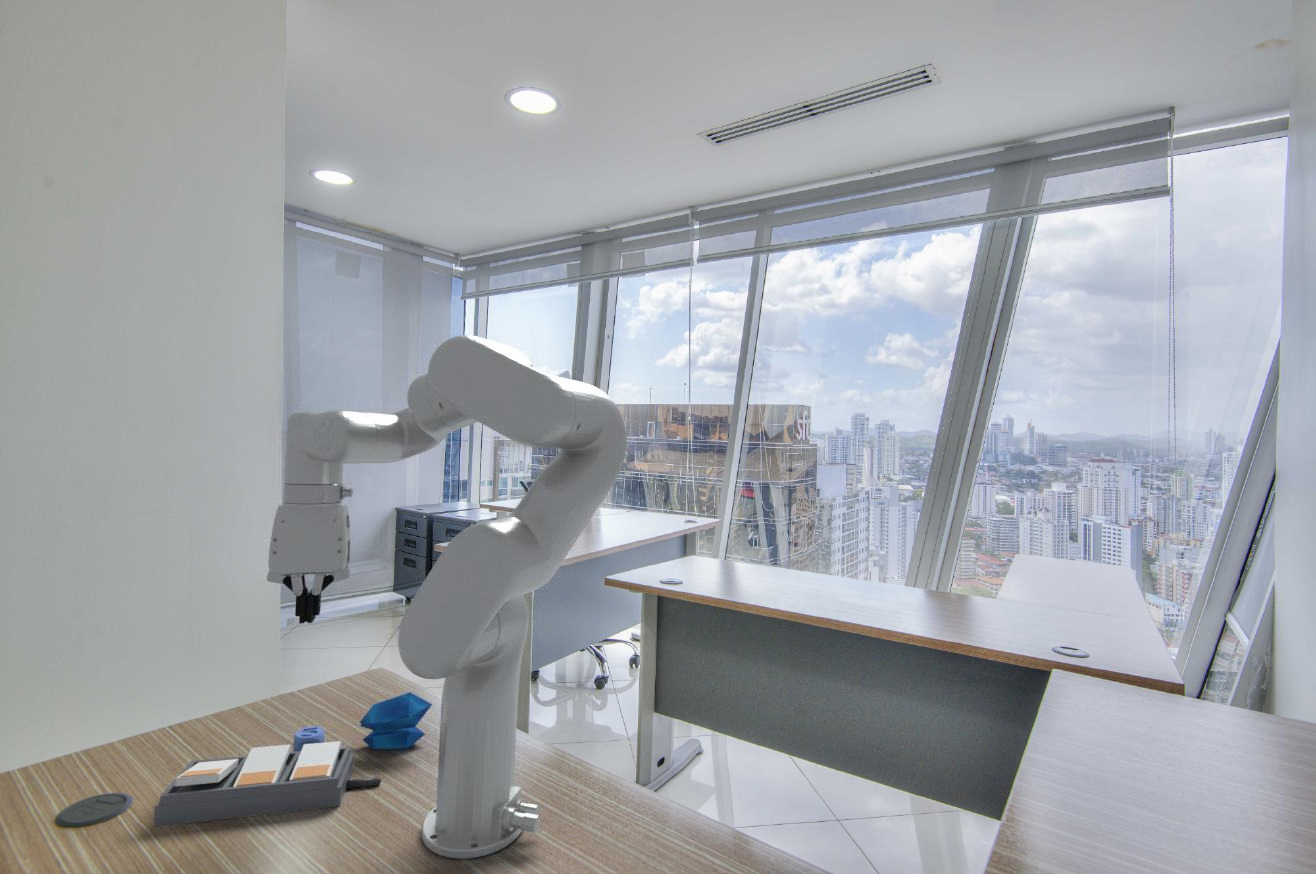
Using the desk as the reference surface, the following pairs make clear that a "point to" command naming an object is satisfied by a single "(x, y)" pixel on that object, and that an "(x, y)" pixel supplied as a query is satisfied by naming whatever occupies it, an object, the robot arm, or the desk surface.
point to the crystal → (395, 722)
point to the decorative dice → (308, 737)
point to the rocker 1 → (207, 772)
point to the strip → (256, 793)
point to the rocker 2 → (316, 761)
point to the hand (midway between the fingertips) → (307, 620)
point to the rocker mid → (263, 765)
